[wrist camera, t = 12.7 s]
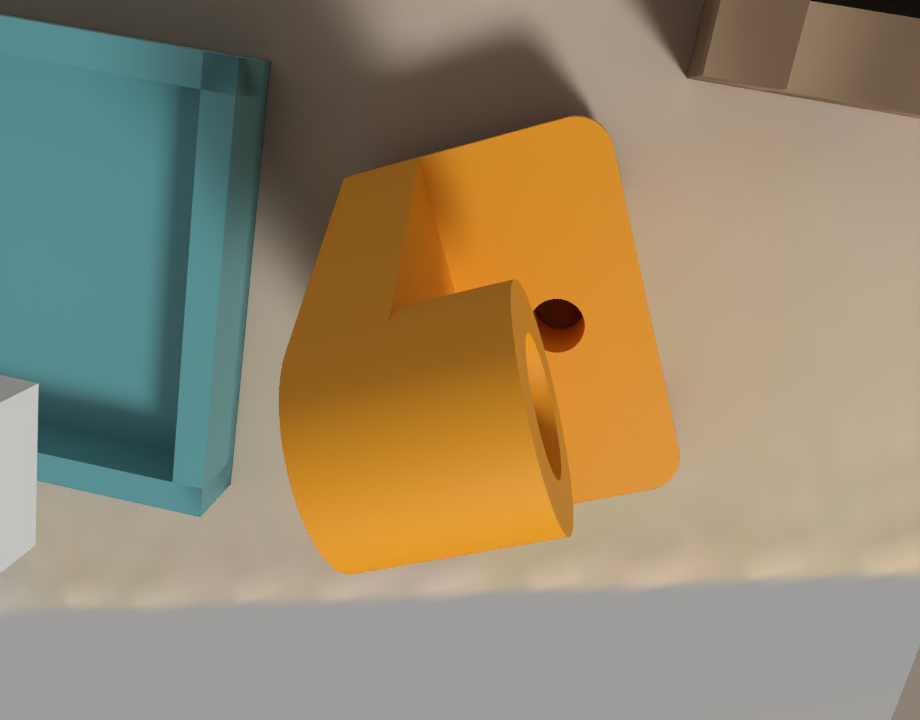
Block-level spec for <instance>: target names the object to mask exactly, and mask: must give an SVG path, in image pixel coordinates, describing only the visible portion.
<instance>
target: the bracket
mask: <svg viewBox="0 0 920 720" xmlns="http://www.w3.org/2000/svg"><path fill="white" fill-rule="evenodd" d="M550 299H563V300H566V301H569V302H571V303H573V304H574V305H575V306H576V307H577V308H578V309H579V310H580V312H581V313H582V317H581V318H580V320H579V321H578V322H577V323H576V324H574V325H573V326H571V327H569V328H565V329H554V328H550V327H548V326H546V325H545V324H543V323H542V322H541V321H540V320H539V318H538V317H537V315H536V312H535V308H536V307H537V306H538V305H539V304H541V303H543V302H544V301H547V300H550ZM279 416H280V430H281V438H282V446H283V452H284V458H285V463H286V468H287V472H288V477H289V480H290V484H291V488H292V491H293V495H294V498H295V501H296V504H297V507H298V510H299V512H300V515H301V518H302V520H303V522H304V525H305V527H306V529H307V531H308V533H309V535H310V537H311V539H312V541H313V543H314V544H315V546H316V547H317V549H318V551H319V552H320V553H321V555H322V556H323V558H324V559H325V560H326V561H327V562H328V563H329V564H330V565H331V566H332V567H333V568H335V569H336V570H337V571H339V572H341V573H344V574H357V573H363V572H369V571H375V570H381V569H386V568H392V567H398V566H404V565H409V564H415V563H421V562H427V561H433V560H438V559H444V558H450V557H456V556H462V555H467V554H473V553H479V552H485V551H491V550H496V549H502V548H508V547H514V546H519V545H525V544H531V543H537V542H543V541H548V540H554V539H560V538H566V537H570V536H571V534H572V531H573V504H574V503H580V502H585V501H591V500H596V499H602V498H607V497H613V496H618V495H624V494H629V493H635V492H640V491H646V490H651V489H655V488H658V487H660V486H662V485H664V484H665V483H667V482H668V481H669V480H670V479H671V478H672V477H673V476H674V474H675V473H676V471H677V468H678V466H679V461H680V453H679V448H678V443H677V439H676V434H675V429H674V425H673V420H672V415H671V411H670V406H669V401H668V397H667V392H666V388H665V383H664V378H663V374H662V369H661V364H660V360H659V355H658V350H657V346H656V341H655V337H654V332H653V327H652V323H651V318H650V313H649V309H648V304H647V300H646V295H645V290H644V286H643V281H642V276H641V272H640V267H639V262H638V258H637V253H636V249H635V244H634V239H633V235H632V230H631V225H630V221H629V216H628V211H627V207H626V202H625V198H624V193H623V188H622V184H621V179H620V174H619V170H618V165H617V160H616V156H615V151H614V147H613V143H612V140H611V138H610V136H609V135H608V133H607V131H606V130H605V128H604V127H603V126H602V125H601V124H600V123H598V122H597V121H595V120H594V119H592V118H589V117H586V116H581V115H572V116H567V117H563V118H560V119H556V120H552V121H549V122H545V123H541V124H538V125H534V126H530V127H527V128H523V129H519V130H516V131H512V132H508V133H505V134H501V135H497V136H494V137H490V138H486V139H483V140H479V141H475V142H472V143H468V144H464V145H461V146H457V147H453V148H450V149H446V150H442V151H438V152H435V153H431V154H427V155H424V156H420V157H416V158H413V159H409V160H405V161H402V162H398V163H394V164H391V165H387V166H383V167H380V168H376V169H372V170H369V171H365V172H361V173H358V174H355V175H352V176H349V177H346V178H344V179H343V182H342V185H341V188H340V191H339V194H338V197H337V200H336V203H335V206H334V209H333V212H332V215H331V218H330V221H329V224H328V227H327V230H326V233H325V236H324V239H323V242H322V245H321V248H320V251H319V254H318V257H317V260H316V263H315V266H314V269H313V272H312V275H311V278H310V281H309V284H308V287H307V290H306V293H305V296H304V299H303V302H302V305H301V308H300V311H299V314H298V317H297V320H296V323H295V326H294V329H293V332H292V335H291V338H290V341H289V344H288V347H287V350H286V353H285V356H284V360H283V364H282V370H281V377H280V387H279Z"/></svg>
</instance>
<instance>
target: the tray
mask: <svg viewBox="0 0 920 720" xmlns="http://www.w3.org/2000/svg"><path fill="white" fill-rule="evenodd" d="M269 72H270V61H266V60H260V59H255V58H249V57H243V56H238V55H232V54H226V53H221V52H215V51H209V50H204V49H198V48H193V47H187V46H181V45H176V44H170V43H164V42H159V41H153V40H147V39H142V38H136V37H130V36H125V35H119V34H113V33H108V32H102V31H96V30H91V29H85V28H80V27H74V26H68V25H63V24H57V23H51V22H46V21H40V20H34V19H29V18H23V17H17V16H12V15H6V14H0V375H3V376H7V377H12V378H17V379H21V380H26V381H30V382H35V383H39V389H38V440H37V481H41V482H46V483H50V484H55V485H59V486H64V487H68V488H73V489H77V490H82V491H86V492H91V493H95V494H100V495H104V496H108V497H113V498H117V499H122V500H126V501H131V502H135V503H140V504H144V505H149V506H153V507H158V508H162V509H167V510H171V511H176V512H180V513H185V514H189V515H194V516H198V517H201V516H202V515H203V514H204V512H205V511H206V510H207V509H208V508H209V507H210V506H211V505H212V504H213V503H214V502H215V501H216V499H217V498H218V497H219V496H220V495H221V494H222V493H223V492H224V491H225V490H226V489H227V487H228V486H229V485H230V484H231V475H232V465H233V454H234V443H235V433H236V422H237V412H238V401H239V390H240V380H241V369H242V358H243V348H244V337H245V327H246V316H247V305H248V295H249V284H250V274H251V263H252V252H253V242H254V231H255V220H256V210H257V199H258V189H259V178H260V167H261V157H262V146H263V136H264V125H265V114H266V104H267V93H268V82H269Z"/></svg>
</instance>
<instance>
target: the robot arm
mask: <svg viewBox="0 0 920 720" xmlns="http://www.w3.org/2000/svg"><path fill="white" fill-rule="evenodd" d="M38 389H39V383H35V382H30V381H26V380H21V379H17V378H12V377H7V376H3V375H0V573H1V572H2V571H3V570H5V569H6V568H7V567H9V566H10V565H11V564H12V563H14V562H15V561H16V560H17V559H19V558H20V557H21V556H22V555H24V554H25V553H26V552H28V551H29V550H30V549H31V548H33V547H34V546H35V541H36V490H37V440H38ZM892 720H920V647H919V650H918V652H917V655H916V658H915V660H914V663H913V665H912V668H911V670H910V673H909V676H908V678H907V681H906V683H905V686H904V689H903V691H902V694H901V696H900V699H899V702H898V704H897V707H896V709H895V712H894V714H893V717H892Z"/></svg>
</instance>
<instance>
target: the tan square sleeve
mask: <svg viewBox="0 0 920 720" xmlns="http://www.w3.org/2000/svg"><path fill="white" fill-rule="evenodd" d="M687 78H688V79H694V80H700V81H706V82H712V83H718V84H723V85H729V86H735V87H741V88H747V89H752V90H758V91H764V92H770V93H776V94H782V95H787V96H793V97H799V98H805V99H811V100H817V101H822V102H828V103H834V104H840V105H846V106H851V107H857V108H863V109H869V110H875V111H881V112H886V113H892V114H898V115H904V116H910V117H915V118H920V19H919V18H913V17H907V16H901V15H894V14H888V13H882V12H876V11H870V10H864V9H858V8H851V7H845V6H839V5H833V4H827V3H821V2H815V1H810V0H705V4H704V8H703V12H702V17H701V21H700V25H699V29H698V34H697V38H696V42H695V46H694V51H693V55H692V59H691V63H690V68H689V72H688V76H687Z"/></svg>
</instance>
